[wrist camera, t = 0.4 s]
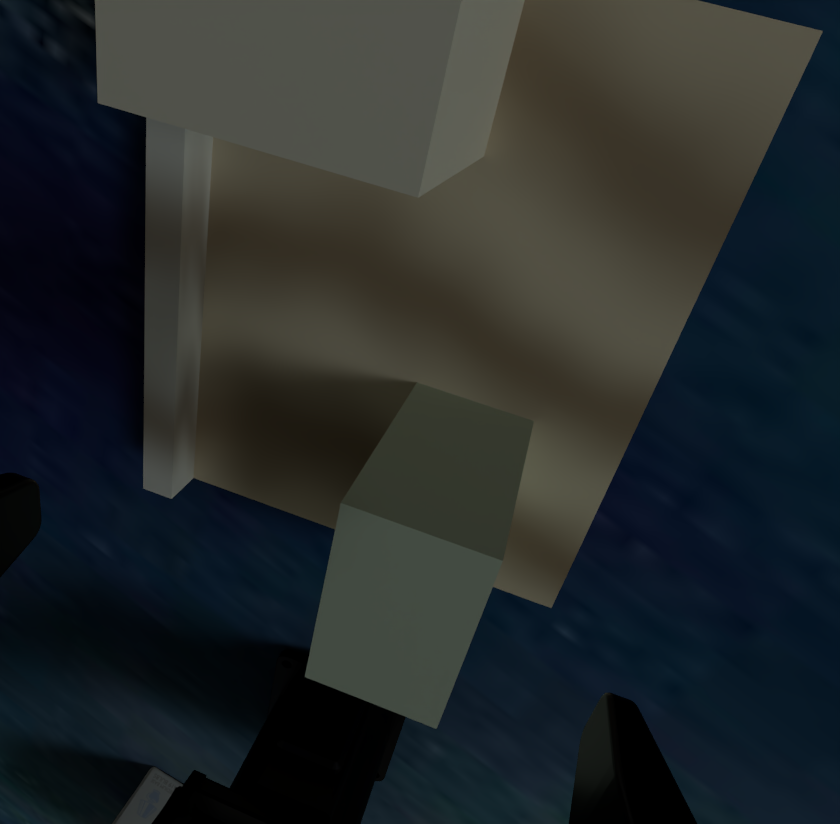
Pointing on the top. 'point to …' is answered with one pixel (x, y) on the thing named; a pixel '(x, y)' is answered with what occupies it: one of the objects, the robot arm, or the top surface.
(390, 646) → the sage carton
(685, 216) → the beige shallow tray
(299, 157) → the cream carton
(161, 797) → the light bulb box
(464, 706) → the top surface
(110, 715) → the top surface
